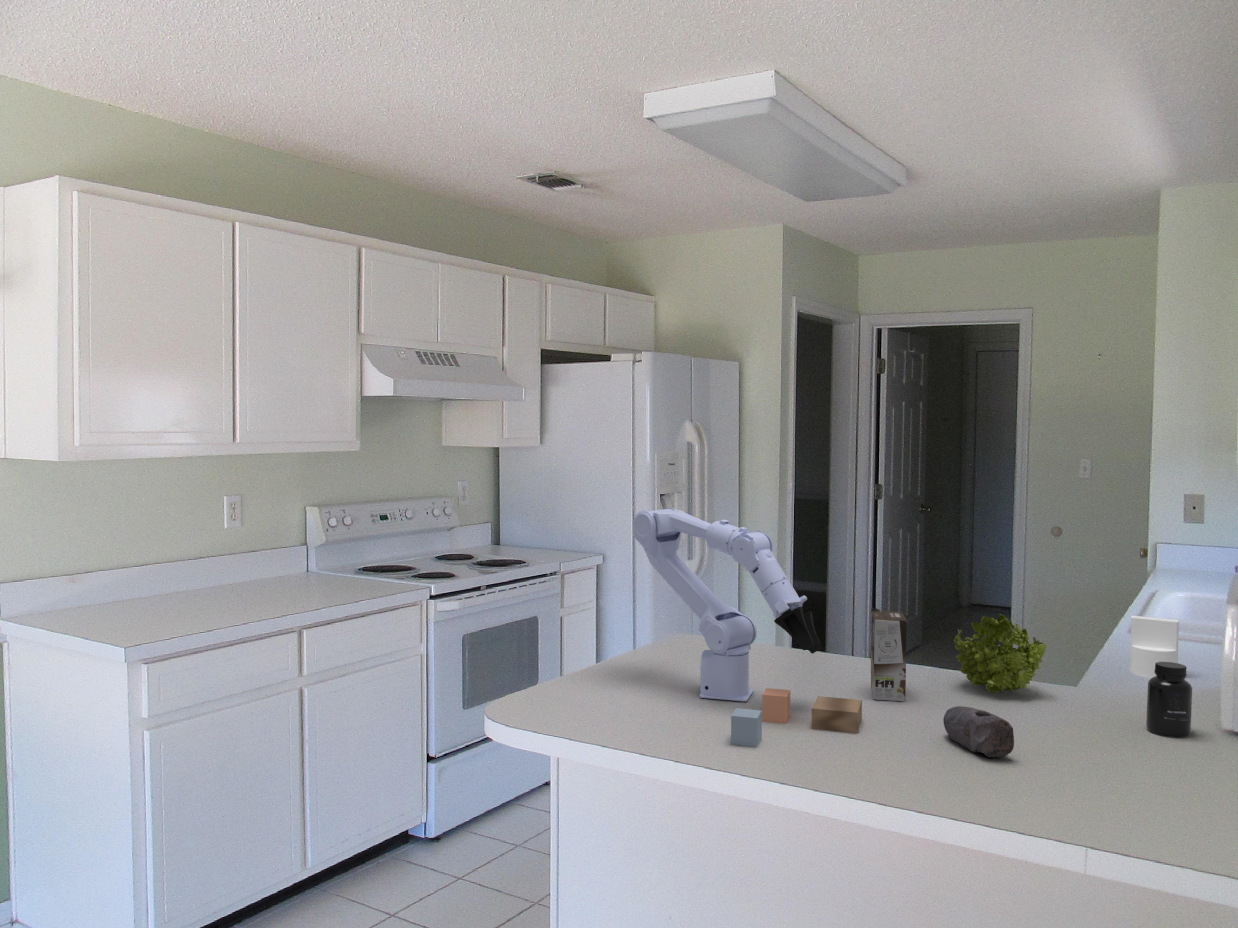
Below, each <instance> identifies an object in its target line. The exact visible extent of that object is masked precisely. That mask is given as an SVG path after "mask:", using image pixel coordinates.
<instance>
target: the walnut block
mask: <svg viewBox="0 0 1238 928" xmlns="http://www.w3.org/2000/svg"><path fill="white" fill-rule="evenodd" d="M862 720H863V700H862V699H853V698H843V697H834V696H833V697H830V696H820V695H818V696H817V697H816V699H815V701H814V703H813V705H812V707H811V729H812V730H819V731H820V730H821V731H829V732H830V731H831V732H839V733H847V732H848V733H849V734H859V730H860V726H861V724H862Z"/></svg>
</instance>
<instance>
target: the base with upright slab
mask: <svg viewBox="0 0 1238 928" xmlns="http://www.w3.org/2000/svg"><path fill="white" fill-rule="evenodd" d="M1179 625H1180V621H1179V619H1173V618H1164V617H1163V618H1162V617H1155V616H1154V617H1153V616H1143V615H1142V616H1140V615H1131V616H1130V645H1129V647H1130V653H1129V654H1130V656H1129V657H1130V658H1129V673H1131V674H1132V675H1134V676H1136V677H1137V676H1138V677H1142V678H1146V679H1151V678H1152V677H1155V676H1156V674H1155V673H1154V670H1155V663H1156V662H1173V663H1179V637H1180V636H1179V635H1180V634H1179V631H1180V630H1179V629H1180V626H1179Z"/></svg>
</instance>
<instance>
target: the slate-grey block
mask: <svg viewBox="0 0 1238 928" xmlns="http://www.w3.org/2000/svg"><path fill="white" fill-rule="evenodd" d="M762 722H763V721H762V709H761V710H760V709H749V708H739V707H736V708H735V709H734V710H733V712H732V714H731V715H730V745H732V746H733V745H734V746H743V747H751V746H755V747H754V748H758V747H759V744H760V742H761V741H762V740H763V739H762V738H763V735H762V734H763V733H762V732H763V727H762V726H763V723H762ZM757 746H758V747H757Z"/></svg>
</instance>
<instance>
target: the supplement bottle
mask: <svg viewBox="0 0 1238 928" xmlns="http://www.w3.org/2000/svg"><path fill="white" fill-rule="evenodd" d="M1154 673H1155V674H1156V676H1155V677H1152V678H1149V680H1148V682H1147V695H1146V696H1147V697H1146V698H1147V699H1146V716H1145V717H1146V719H1145V720H1146V721H1145V722H1146V723H1145V724H1146V729H1147V730H1148V731H1149V732H1151V733H1153V734H1156V735H1159V736H1163V737H1168V738H1186V737H1188V736H1190V734H1191V729H1192V728H1191V727H1192V710H1193V709H1192V705H1193V687H1192V685H1191V683H1190V682H1189V681H1187V680H1186V678H1187V677H1188V676H1187V665H1184V664H1182V663H1179V662H1178V663H1173V662H1156V663H1155V670H1154Z"/></svg>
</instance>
